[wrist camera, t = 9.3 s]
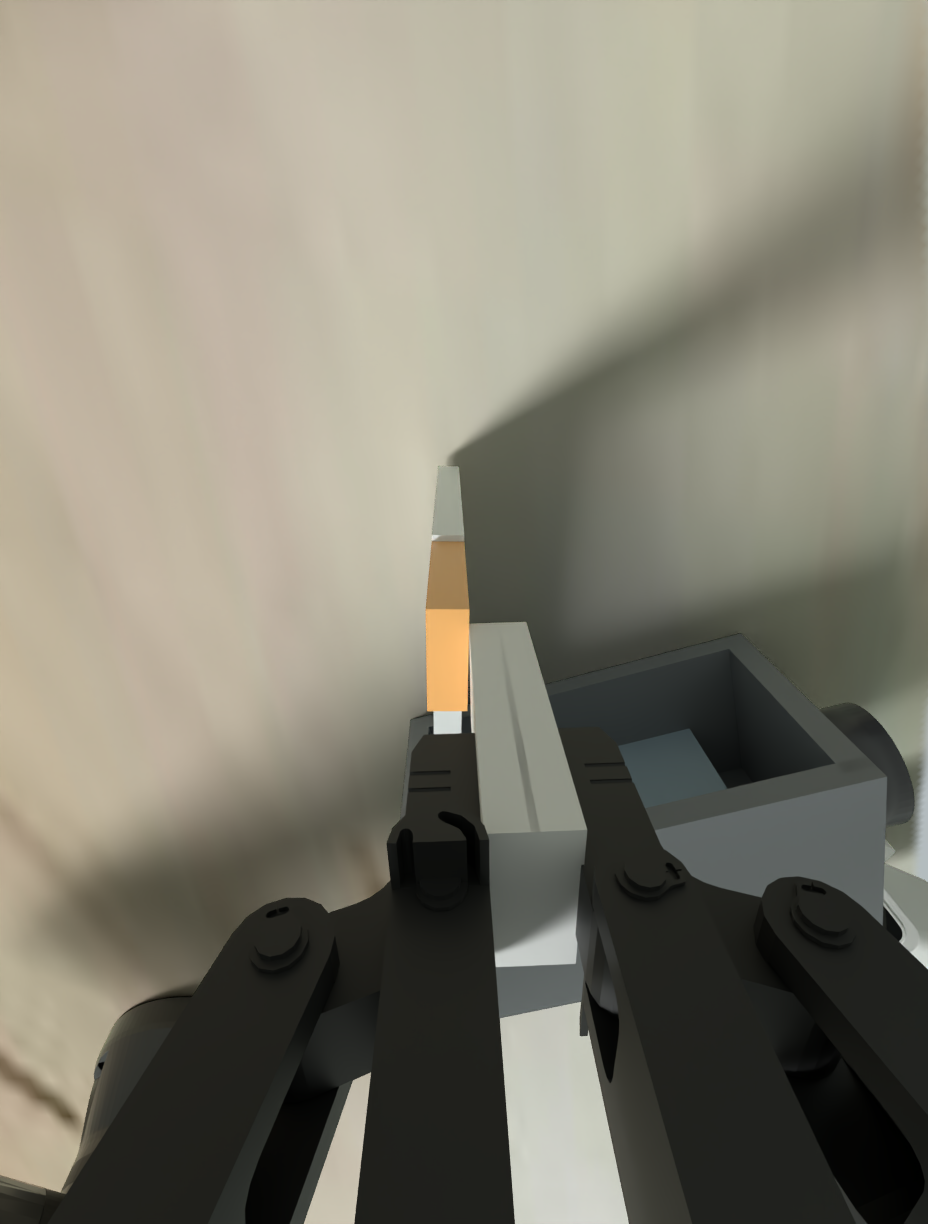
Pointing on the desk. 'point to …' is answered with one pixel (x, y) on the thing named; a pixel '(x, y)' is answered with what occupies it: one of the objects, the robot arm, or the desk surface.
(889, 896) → the security camera
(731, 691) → the camera body
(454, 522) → the hinged cabinet door
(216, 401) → the desk surface
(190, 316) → the desk surface
